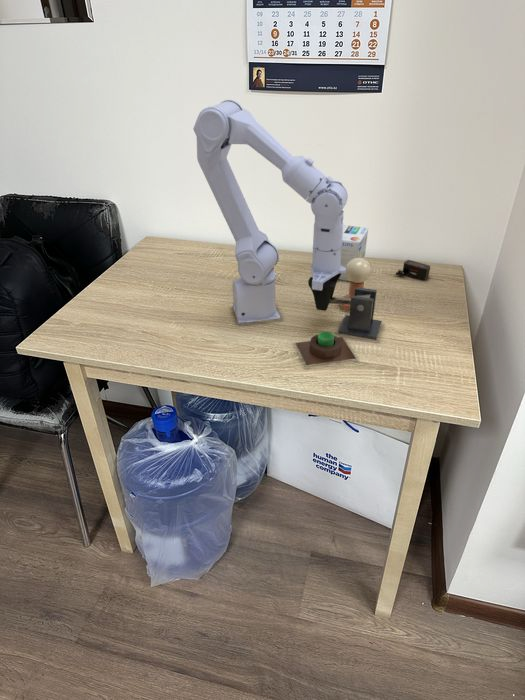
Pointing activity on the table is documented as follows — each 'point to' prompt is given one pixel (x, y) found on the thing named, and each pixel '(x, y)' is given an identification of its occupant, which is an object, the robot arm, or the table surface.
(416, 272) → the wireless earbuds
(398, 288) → the table surface
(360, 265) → the globe lamp
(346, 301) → the switch lever
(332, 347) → the button block
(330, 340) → the light button
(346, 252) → the light bulb box
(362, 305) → the switch bracket
